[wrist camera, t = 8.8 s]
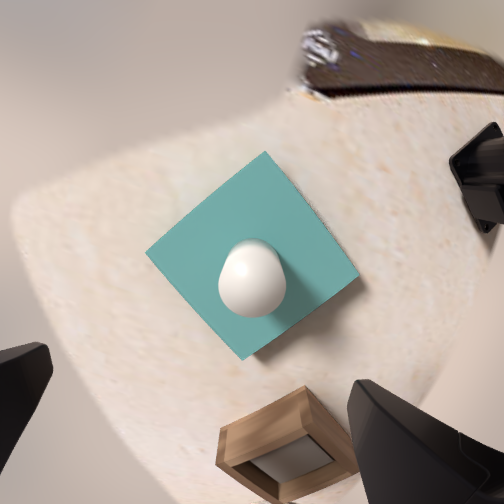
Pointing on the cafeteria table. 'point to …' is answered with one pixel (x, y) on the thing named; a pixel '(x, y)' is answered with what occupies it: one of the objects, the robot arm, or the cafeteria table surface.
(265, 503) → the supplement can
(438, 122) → the cafeteria table surface
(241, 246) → the lid
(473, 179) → the robot arm
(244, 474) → the box
